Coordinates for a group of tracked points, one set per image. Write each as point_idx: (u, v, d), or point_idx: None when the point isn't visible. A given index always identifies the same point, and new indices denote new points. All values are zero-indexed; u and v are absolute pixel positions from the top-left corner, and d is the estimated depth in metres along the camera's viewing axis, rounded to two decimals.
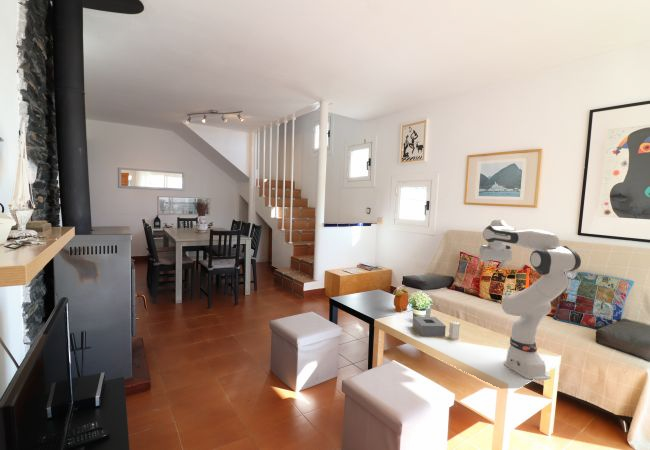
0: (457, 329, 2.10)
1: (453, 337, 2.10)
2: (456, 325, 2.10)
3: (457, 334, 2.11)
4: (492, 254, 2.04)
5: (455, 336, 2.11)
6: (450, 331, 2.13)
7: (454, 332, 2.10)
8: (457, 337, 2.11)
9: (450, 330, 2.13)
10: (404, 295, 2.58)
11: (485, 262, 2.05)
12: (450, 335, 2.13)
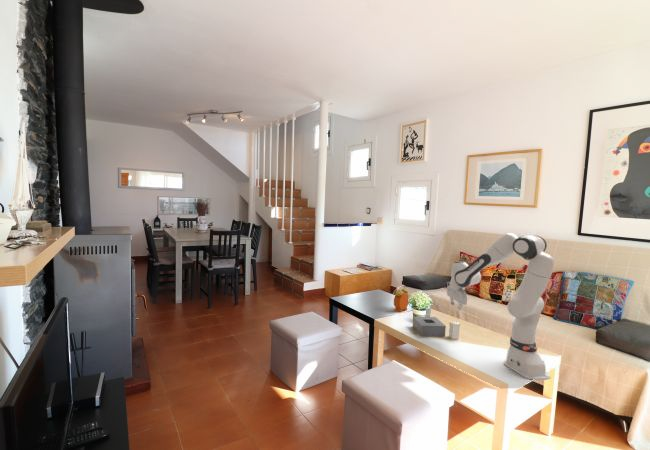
0: (457, 329, 2.10)
1: (453, 337, 2.10)
2: (456, 325, 2.10)
3: (457, 334, 2.11)
4: None
5: (455, 336, 2.11)
6: (450, 331, 2.13)
7: (454, 332, 2.10)
8: (457, 337, 2.11)
9: (450, 330, 2.13)
10: (404, 295, 2.58)
11: (461, 305, 2.05)
12: (450, 335, 2.13)
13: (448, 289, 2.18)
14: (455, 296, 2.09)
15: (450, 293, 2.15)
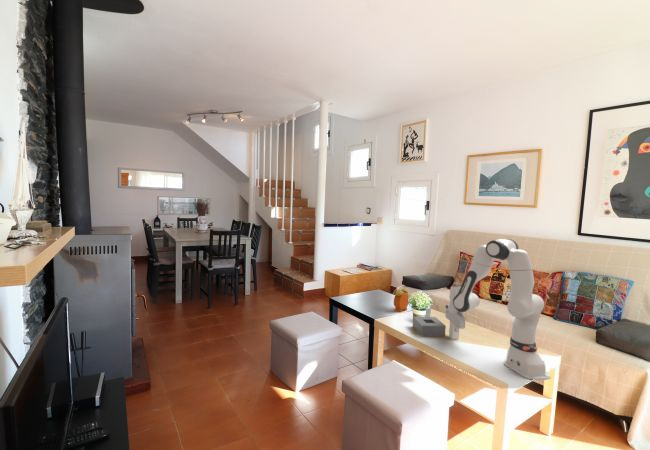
0: None
1: (453, 337, 2.10)
2: None
3: (457, 334, 2.11)
4: None
5: (455, 336, 2.11)
6: (450, 331, 2.13)
7: (454, 332, 2.10)
8: (457, 337, 2.11)
9: (450, 330, 2.13)
10: (404, 295, 2.58)
11: (458, 328, 2.08)
12: (450, 335, 2.13)
13: (446, 311, 2.19)
14: (453, 319, 2.10)
15: (448, 316, 2.17)
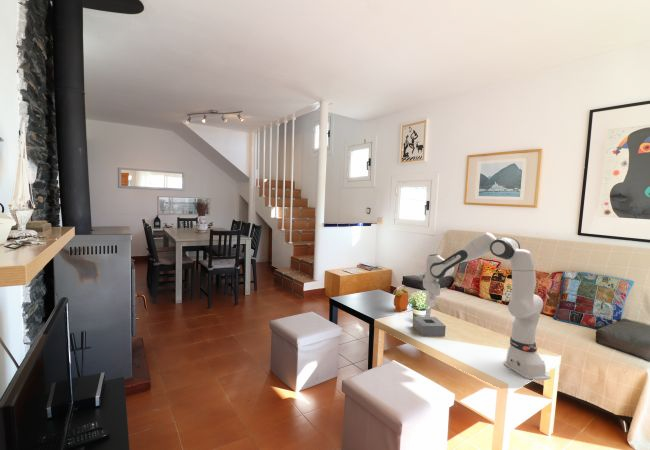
0: None
1: (429, 305, 2.18)
2: None
3: (433, 302, 2.18)
4: None
5: (431, 303, 2.18)
6: (426, 299, 2.20)
7: (430, 300, 2.18)
8: (432, 305, 2.18)
9: (426, 298, 2.20)
10: (404, 295, 2.58)
11: (434, 295, 2.15)
12: (426, 303, 2.20)
13: (424, 281, 2.27)
14: (429, 288, 2.17)
15: (425, 285, 2.24)
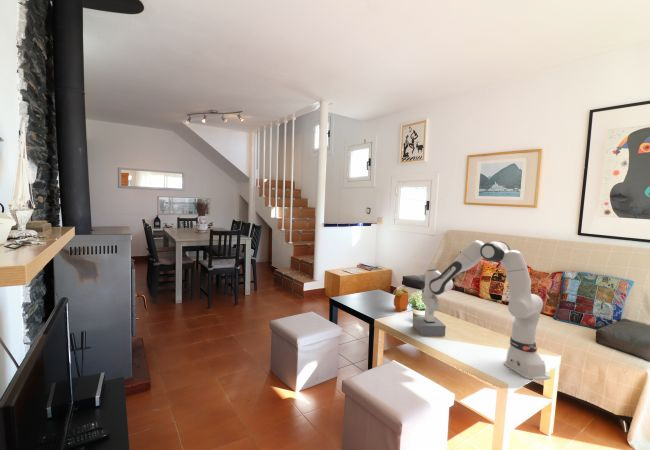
0: None
1: (428, 320, 2.19)
2: None
3: (432, 317, 2.19)
4: None
5: (430, 318, 2.19)
6: (425, 314, 2.21)
7: (429, 315, 2.18)
8: (431, 320, 2.19)
9: (425, 313, 2.21)
10: (404, 295, 2.58)
11: (433, 310, 2.16)
12: (425, 318, 2.21)
13: (423, 296, 2.27)
14: (428, 303, 2.18)
15: (424, 300, 2.25)
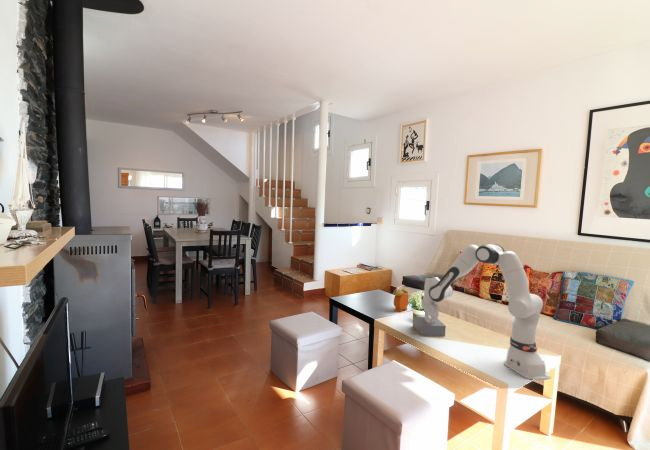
0: None
1: None
2: None
3: None
4: None
5: None
6: None
7: None
8: None
9: None
10: (404, 295, 2.58)
11: (433, 318, 2.15)
12: None
13: (422, 302, 2.28)
14: (428, 309, 2.18)
15: (424, 306, 2.25)
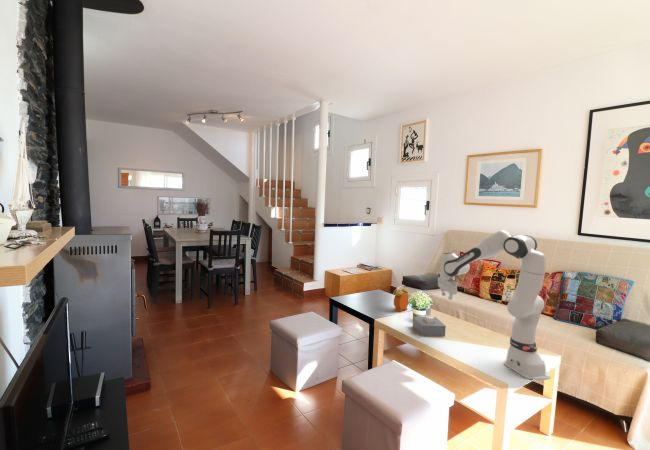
0: None
1: None
2: (430, 319, 2.19)
3: None
4: None
5: None
6: None
7: None
8: None
9: None
10: (404, 295, 2.58)
11: (452, 295, 2.11)
12: None
13: (439, 280, 2.24)
14: (445, 286, 2.14)
15: (441, 284, 2.21)
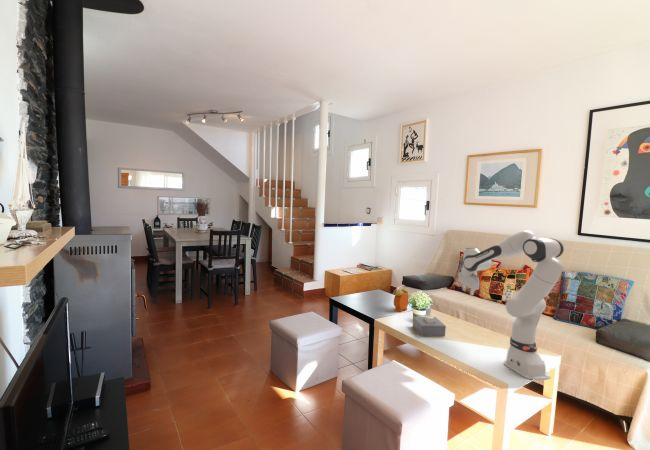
0: None
1: None
2: (430, 319, 2.19)
3: None
4: None
5: None
6: None
7: None
8: None
9: None
10: (404, 295, 2.58)
11: (473, 290, 2.08)
12: None
13: (460, 275, 2.21)
14: (467, 282, 2.12)
15: (462, 279, 2.18)
